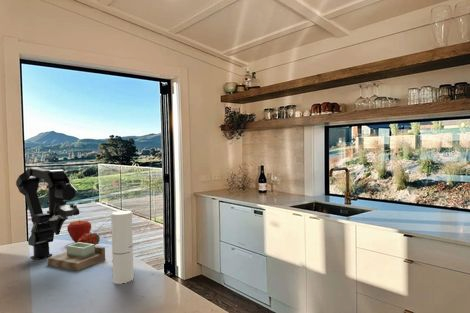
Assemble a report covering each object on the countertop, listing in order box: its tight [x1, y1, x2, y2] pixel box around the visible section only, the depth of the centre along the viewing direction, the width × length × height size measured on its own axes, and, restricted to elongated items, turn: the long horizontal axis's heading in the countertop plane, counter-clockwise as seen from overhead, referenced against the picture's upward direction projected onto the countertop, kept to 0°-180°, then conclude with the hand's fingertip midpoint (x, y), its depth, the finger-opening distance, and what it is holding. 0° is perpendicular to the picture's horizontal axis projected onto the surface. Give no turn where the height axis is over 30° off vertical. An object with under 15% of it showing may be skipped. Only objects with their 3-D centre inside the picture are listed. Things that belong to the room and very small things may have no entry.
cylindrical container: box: [110, 210, 134, 285], centre depth 117 cm, size 7×7×25 cm
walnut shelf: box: [47, 245, 106, 272], centre depth 138 cm, size 18×14×6 cm
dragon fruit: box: [75, 231, 101, 246], centre depth 157 cm, size 8×8×12 cm
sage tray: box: [66, 242, 96, 258], centre depth 139 cm, size 10×6×4 cm, turn 65°
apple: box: [66, 219, 92, 243], centre depth 168 cm, size 11×11×12 cm
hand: (57, 234), depth 138 cm, fingers closed
